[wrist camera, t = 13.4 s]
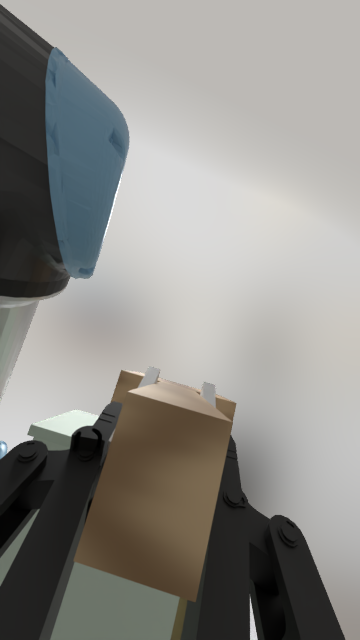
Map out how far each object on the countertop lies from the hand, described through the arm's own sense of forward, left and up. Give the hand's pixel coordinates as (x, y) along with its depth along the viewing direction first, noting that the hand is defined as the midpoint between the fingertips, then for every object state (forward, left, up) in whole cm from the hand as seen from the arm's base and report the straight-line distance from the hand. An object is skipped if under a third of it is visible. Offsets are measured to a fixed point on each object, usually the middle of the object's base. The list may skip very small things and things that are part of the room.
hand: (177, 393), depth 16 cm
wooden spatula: (0, +2, -4) cm, 4 cm away
